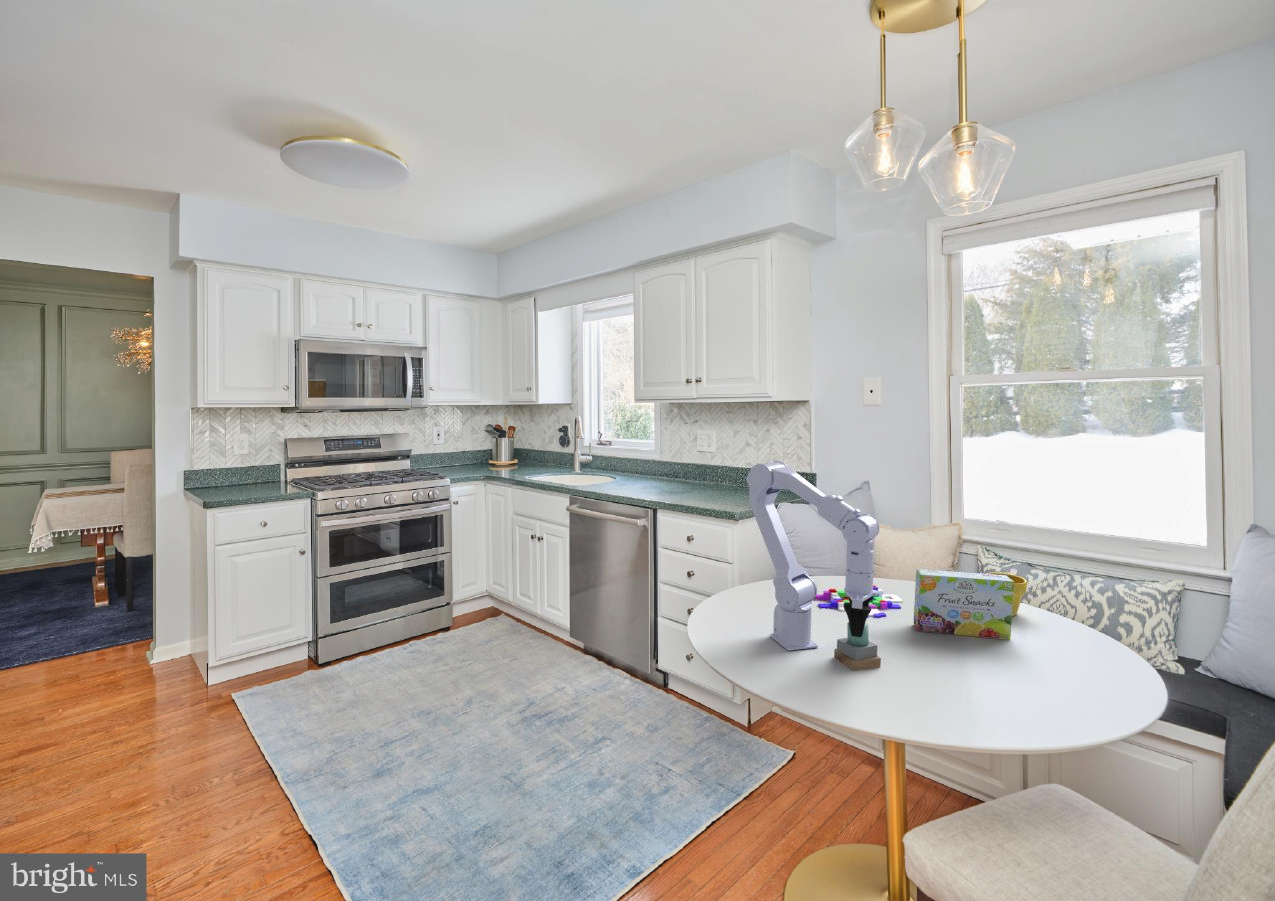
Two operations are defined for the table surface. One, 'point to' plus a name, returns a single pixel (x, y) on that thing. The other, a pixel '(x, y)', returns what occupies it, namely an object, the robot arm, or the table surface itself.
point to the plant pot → (1016, 589)
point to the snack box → (963, 603)
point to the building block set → (877, 602)
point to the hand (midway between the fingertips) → (857, 630)
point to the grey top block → (856, 649)
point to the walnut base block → (858, 664)
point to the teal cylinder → (858, 640)
